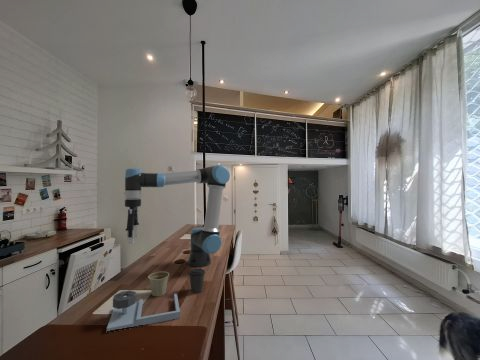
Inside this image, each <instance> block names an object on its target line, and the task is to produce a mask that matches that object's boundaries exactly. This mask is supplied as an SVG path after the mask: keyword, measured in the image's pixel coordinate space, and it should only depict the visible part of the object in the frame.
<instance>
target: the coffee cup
mask: <svg viewBox="0 0 480 360" xmlns="http://www.w3.org/2000/svg"><path fill="white" fill-rule="evenodd" d="M205 274H206V271H205V269H203V268H194V269H191V270H189V271H188V275H189V281H190V282H189V283H190V292H191V293H192V294H200V293H202V292H203V288H204V279H205Z"/></svg>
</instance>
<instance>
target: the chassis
mask: <svg viewBox="0 0 480 360" xmlns="http://www.w3.org/2000/svg"><path fill="white" fill-rule="evenodd" d="M123 297H127V296H123ZM178 298H179V297H178V293H174V294H173V302H174V310H173V311H167V312H161V313H156V314H151V315H150V314H149V315H145V316H142V312H143V305H144V304H143V303H144V302H143V300H144V299H143V298H140V299H139V301H135V304H133V305H131V306H130V307H128V308H122V309H117V308H114V307H113V310H112V312H111V315H110V319H109V321H108V324H107V326H106V332H107V331H110V330H115V329H122V328H127V327H134V326H137V327H139V326H138V325H143V326H147V325H146V324H148V325H151V324H156V323H162V322H167V321H173V319H174V320H178V319H181V317H180V315H181V309H180V305H179V299H178Z"/></svg>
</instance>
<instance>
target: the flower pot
mask: <svg viewBox="0 0 480 360" xmlns="http://www.w3.org/2000/svg"><path fill="white" fill-rule="evenodd" d="M169 276H170V273H169V272H167V271H157V272H153V273H151V274H149V275H148V276H147V279H148V281H149V284H150V290H151V295H152V297H156V298H157V297H161V296H162V297H163V296H164V295H165V294H166V291H167V286H168V279H169Z"/></svg>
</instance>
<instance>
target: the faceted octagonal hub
mask: <svg viewBox="0 0 480 360" xmlns="http://www.w3.org/2000/svg"><path fill="white" fill-rule="evenodd" d="M123 296H127V297H123ZM112 298H113V299H112V307H113V309H114V308H117V309H122V308H128V307H130V306H131V305H133V304H135V302H137V301H136V300H137V299H136V298H137V292H136V291H134V290H125V291H120V292H118V293H115V294H114V295H113V297H112Z"/></svg>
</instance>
